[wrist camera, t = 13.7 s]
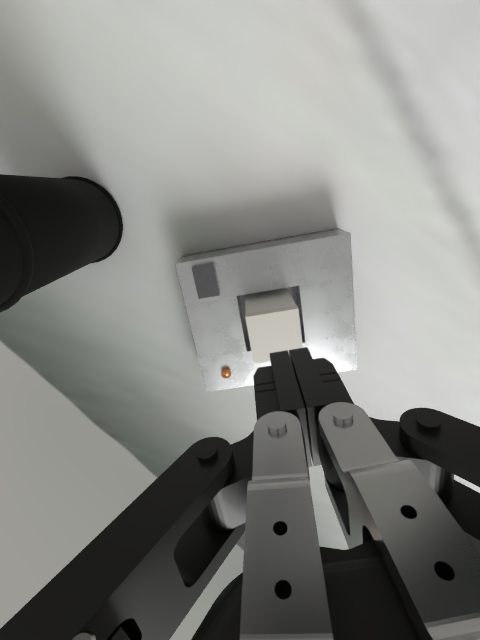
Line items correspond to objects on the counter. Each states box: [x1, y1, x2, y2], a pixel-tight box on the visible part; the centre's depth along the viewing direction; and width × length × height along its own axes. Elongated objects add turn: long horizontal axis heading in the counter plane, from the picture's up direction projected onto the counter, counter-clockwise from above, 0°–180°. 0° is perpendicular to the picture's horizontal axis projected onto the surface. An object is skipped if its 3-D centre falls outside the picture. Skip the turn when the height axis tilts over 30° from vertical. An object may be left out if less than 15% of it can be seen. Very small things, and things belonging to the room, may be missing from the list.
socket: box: [175, 228, 357, 392], centre depth 34 cm, size 14×16×5 cm
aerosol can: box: [0, 175, 123, 312], centre depth 24 cm, size 8×8×20 cm
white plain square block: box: [245, 288, 303, 363], centre depth 32 cm, size 4×4×7 cm
